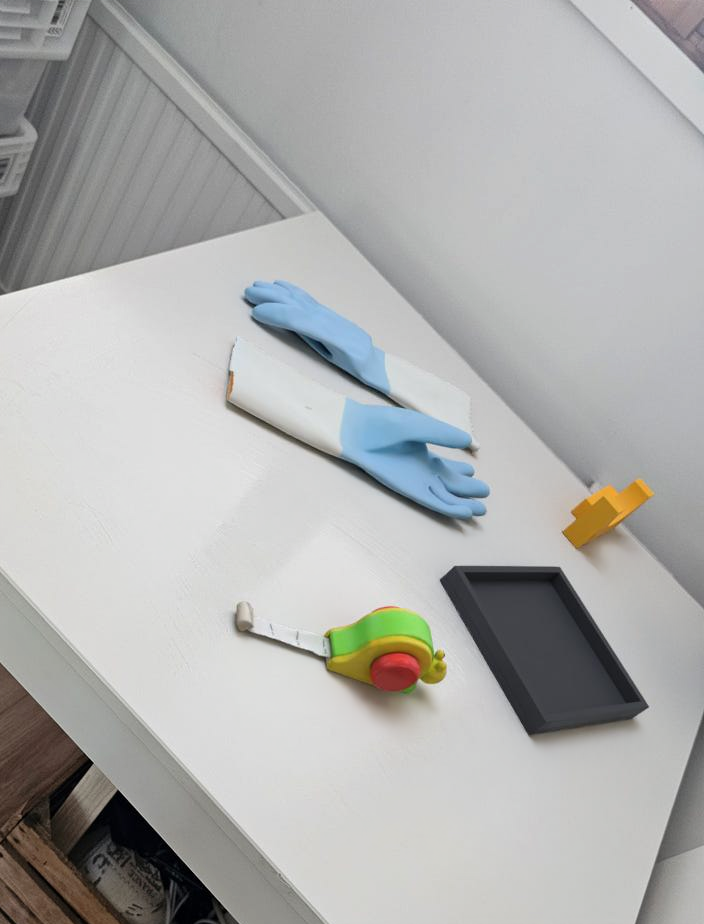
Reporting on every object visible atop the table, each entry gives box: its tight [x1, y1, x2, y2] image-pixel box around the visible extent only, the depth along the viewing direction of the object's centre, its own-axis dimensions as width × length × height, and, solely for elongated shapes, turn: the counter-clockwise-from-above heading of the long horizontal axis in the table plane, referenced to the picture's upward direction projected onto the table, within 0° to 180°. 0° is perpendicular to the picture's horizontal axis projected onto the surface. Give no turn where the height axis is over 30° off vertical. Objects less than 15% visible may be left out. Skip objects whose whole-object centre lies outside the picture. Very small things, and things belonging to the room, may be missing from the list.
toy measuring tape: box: [236, 601, 448, 694], centre depth 84 cm, size 6×20×7 cm, turn 91°
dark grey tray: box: [439, 565, 650, 736], centre depth 102 cm, size 18×18×2 cm
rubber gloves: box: [226, 279, 491, 520], centre depth 112 cm, size 27×33×6 cm
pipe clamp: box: [562, 477, 655, 549], centre depth 123 cm, size 12×4×6 cm, turn 132°
